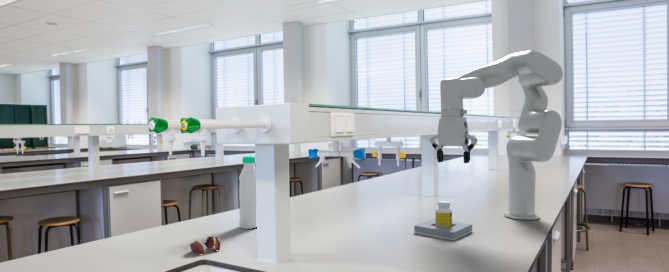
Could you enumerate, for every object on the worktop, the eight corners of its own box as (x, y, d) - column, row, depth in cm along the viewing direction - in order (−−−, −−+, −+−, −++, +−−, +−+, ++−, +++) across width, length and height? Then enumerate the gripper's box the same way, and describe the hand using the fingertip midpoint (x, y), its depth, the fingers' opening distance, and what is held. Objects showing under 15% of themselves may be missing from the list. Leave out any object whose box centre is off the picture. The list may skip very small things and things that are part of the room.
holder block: (434, 225, 154) (434, 218, 154) (472, 231, 145) (472, 224, 145) (414, 232, 143) (414, 225, 143) (453, 240, 134) (453, 232, 134)
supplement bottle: (452, 233, 141) (452, 203, 141) (435, 232, 142) (435, 202, 142) (451, 229, 146) (451, 200, 146) (435, 228, 147) (435, 200, 147)
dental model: (187, 238, 122) (213, 233, 128) (187, 252, 122) (213, 247, 128) (196, 242, 118) (223, 237, 124) (196, 257, 118) (222, 252, 124)
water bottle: (235, 228, 149) (234, 156, 149) (246, 224, 156) (246, 155, 155) (252, 230, 147) (252, 157, 146) (263, 225, 153) (263, 155, 153)
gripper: (480, 112, 148) (481, 162, 149) (434, 114, 159) (435, 160, 160) (471, 113, 142) (473, 164, 143) (424, 114, 153) (426, 162, 154)
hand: (453, 162), depth 152 cm, fingers open, 9 cm apart
